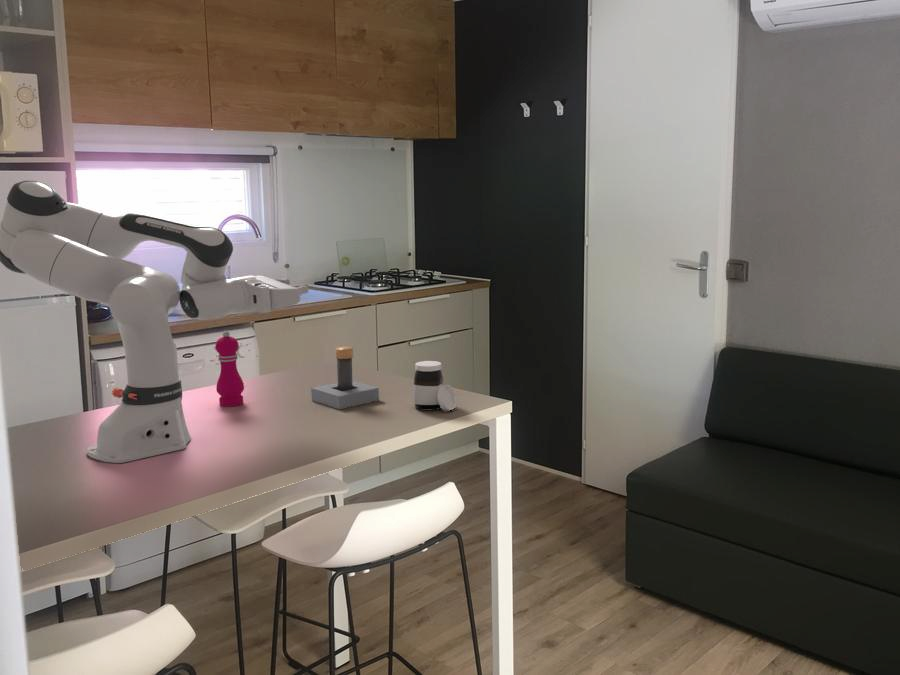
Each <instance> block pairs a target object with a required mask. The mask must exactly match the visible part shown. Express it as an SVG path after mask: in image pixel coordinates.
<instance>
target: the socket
mask: <svg viewBox="0 0 900 675" xmlns="http://www.w3.org/2000/svg"><path fill="white" fill-rule="evenodd" d="M352 383H353V389H351V390H347V391H339V390H338V382H335V383H328V384H324V385H323V384H322V385H319V386H315V387H314V386H313V387H311V388H310V389H311V390H310V391H311V393H310V394H311V401H312V402H316V403H319V404H322V405H325V406H328V407H331V408H335V409H338V410H342V409H347V407H348V408H351V406H352V407H356V406H360V405H359V404H361V405H365V404H369V403H373V402H372V401H374V402H377V401H376V400H378V401H379V400H380V391H379V387H377V386H373V385H370V384H366V383H362V382H359V381H356V380H352ZM368 402H369V403H368ZM364 403H365V404H364Z"/></svg>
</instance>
